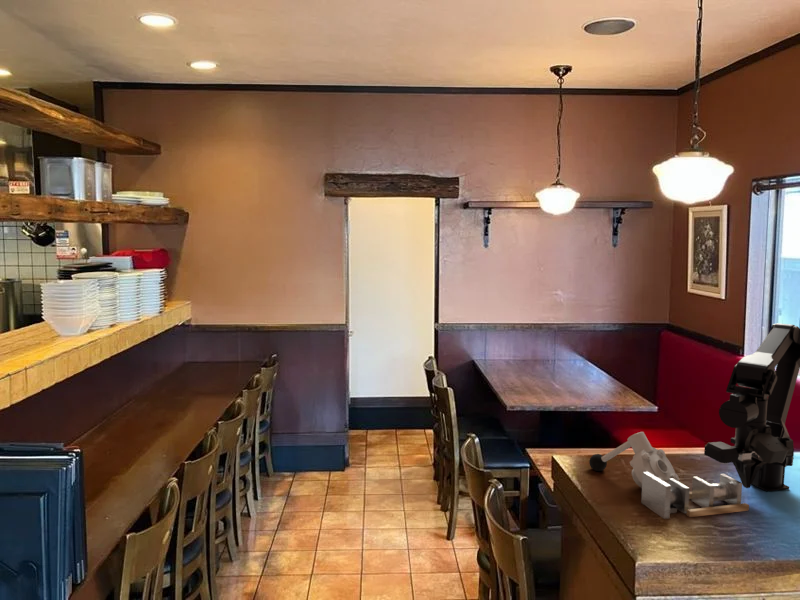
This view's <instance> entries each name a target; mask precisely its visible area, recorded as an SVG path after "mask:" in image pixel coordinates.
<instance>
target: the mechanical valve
mask: <svg viewBox="0 0 800 600" xmlns="http://www.w3.org/2000/svg"><path fill="white" fill-rule="evenodd" d="M648 439H649V438H647V436H646V434H645V432H644V431H640V432H637V433H634V434H632V435H630V436H628V438H627V441H625V442H623V443H622V444H621V445H619V446H617V447H616V448H614V449H612V450H611V451H609V452H607V453H606V454H604V455H602V454H599V453H597V454H593V455H592V456H590V458H589V461H588V462H589V466H590V468H591V469H592V470H594V471H596V472H602V471H604V470H605V469H606V468H607V464H608V461H609V460H611V459H613V458H614V457H616V456H618V455H620V454H621V453H623V452H624V451H626V450H629V449H630V448H631V449H632V451H633V453H634V454H633V457H632V460H629V464H630V467H632V468H633V469H631V476H632V479H633V481H634V483H635V484H636V485H637V486H638V487H639V488H640V489H642V478H643V472H649V473H651V474H652V475H654V476H656V477H657V478H659V479H661V480H662V481H664V482H666V483H667V484H669V479H671V478H673V479H675V480H677V481H679V480H680V478H679V475H678V474H677V473H676V471H675V468H674V467H673V465H672V463H671V461H670V460H669V459H668V457H667V456H666V453H665V450H663V449H662V448H660V449H657V448H656V447H653V446H652V444H651V443H650V441H649V440H648Z"/></svg>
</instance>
